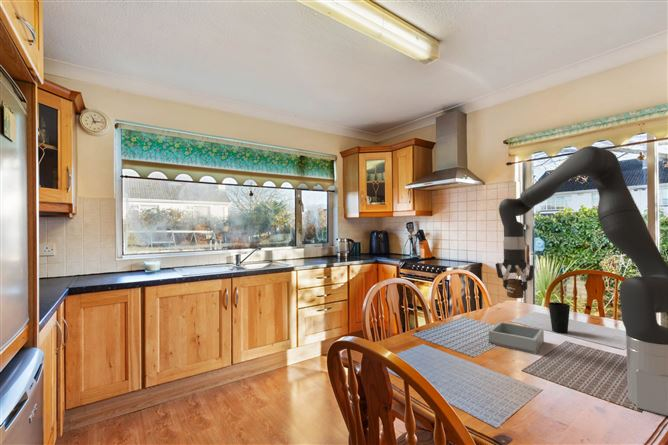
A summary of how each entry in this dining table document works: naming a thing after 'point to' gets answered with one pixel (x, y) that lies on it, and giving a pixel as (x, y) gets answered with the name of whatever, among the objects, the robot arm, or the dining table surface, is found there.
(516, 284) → the utensil holder
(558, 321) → the cup
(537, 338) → the bin
